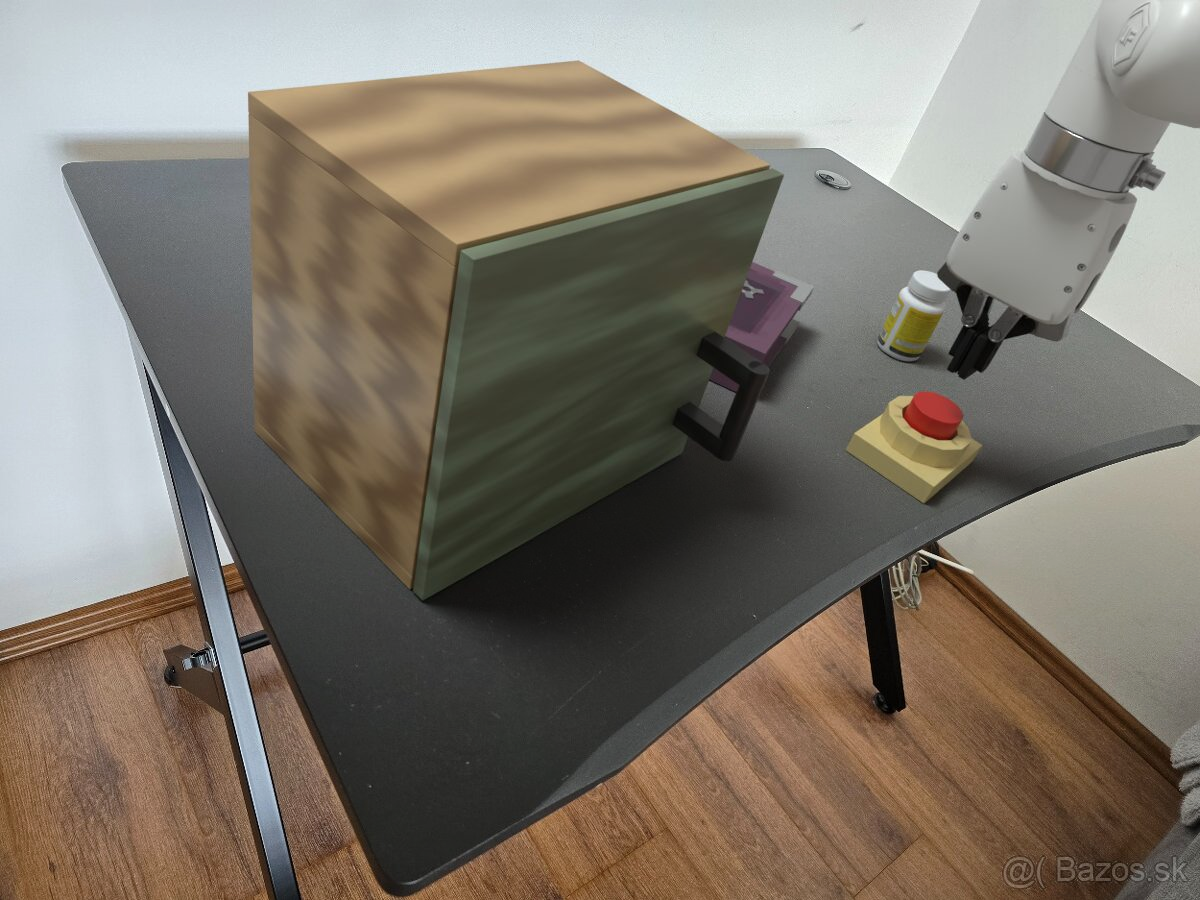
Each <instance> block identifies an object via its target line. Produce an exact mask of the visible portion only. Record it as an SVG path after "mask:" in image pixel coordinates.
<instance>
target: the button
mask: <svg viewBox="0 0 1200 900" xmlns="http://www.w3.org/2000/svg"><path fill="white" fill-rule="evenodd" d="M913 396H914V397H913V398H912V400H911V402H910V404H909V406H908V408H907V409H906V411H905V413H904V420H905V421H906V422H907V423H908V425H909V426H910V427H911V428H913V429H914V430H916V431H917V432H919V433H920V434H922V435H923V436H926V437H930V438H933V439H936V440H949V439H950V438H951V437H952V436H953V434H954V432H955V431H956V429H957V428H958V426H959V424H960V423H961V421H963V418H964V414H963V411H962V409H961V408H960V406H958V404H956V403H955V402H954V401H952V400H951V399H949V398H948V397H946V396H945V395H942V394H940V393H937V392H933V391H924V390H923V391H922V390H921V391H919V392H916V393H915V394H914V395H913Z"/></svg>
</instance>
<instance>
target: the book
mask: <svg viewBox="0 0 1200 900" xmlns="http://www.w3.org/2000/svg"><path fill="white" fill-rule="evenodd" d="M814 288H815V286H814V285H812V284H809V283H807V282H804V281H802V280H800V279H798V278H795V277H793V276H791V275H788V274H786V273H783V272H781V271H779V270H773V269H771V268H769V267H766V266H763V265H761V264H758V263H756V262H754V261H752V264H751V267H750V270H749V272H748V275H747V278H746V280H745V283H744V286H743V289H742V291H741V294H740V297H739V299H738V302H737V305H736V308H735V310H734V313H733V316H732V318H731V321H730V324H729V327H728V329H727V332H726V335H725V338H726V339H727V340H729V341H730V342H732V343H733V344H735V345H736V346H738V347H739V348H741V349H742V350H744V351H745V352H747V353H748V354H750V355H751V356H753V357H754V358H756V359H757V360H759V361H760V362H762V363H763V364H765V365H766V366H767V367H768V368H769V367H770V366H771V364H772V363H773V361H774V360H775V359H776V357H777V355H778V354H779V353H780V351H781V350H782V348H783V347H785V346H786V344H787V343H788V342H789V340H790V339H791V338H792V336H793V334H794V333H795V331H796V330H797V327H798V325H799V323H800V321H799V320H796V319H794V317H795V316H796V314H797V313H798V312H800V311H801V310H802V308H803V307H804V306H805V304H806V303H807V301H808V300H809V298H810V297H811V296H812V293H813V290H814ZM709 381H711V382H714V383H715V384H718V385H720V386H722V387H724V388H727V389H728V390H731V391H733V392H735V393H736V392H737V389H738V387H739V385H738V384H737V383H735V382H734V381H733V380H731V379H730V378H728V377H727V376H725V375H724V374H722V373H721V372H719V371H718V370H716V369H715V368H714V367H713V370H712V373H711V376H710V378H709Z"/></svg>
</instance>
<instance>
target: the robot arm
mask: <svg viewBox="0 0 1200 900" xmlns="http://www.w3.org/2000/svg"><path fill="white" fill-rule="evenodd" d="M1099 4H1100V5H1099V6H1098V8H1097V9H1096V11H1095V14H1094V15H1093V17H1092V19H1091V22H1090V23H1089V25H1088V27H1087V28H1086V31H1085V32H1084V35H1083V37H1082V39H1081V40H1080V43H1079V44H1078V46H1077V48H1076V50H1075V51H1074V54H1073V56H1072V58H1071V60H1070V61H1069V64H1068V66H1067V67H1066V69H1065V71H1064V73H1063V75H1062V77H1061V78H1060V80H1059V83H1058V84H1057V87H1056V88H1055V90H1054V92H1053V94H1052V96H1051V98H1050V100H1049V101H1048V103H1047V105H1046V107H1045V109H1044V112H1043V113H1042V115H1041V116H1040V119H1039V121H1038V123H1037V125H1036V126H1035V128H1034V131H1033V133H1032V134H1031V136H1030V137H1029V140H1028V142H1027V144H1026V146H1025V147H1023V148H1018V149H1017V150H1015V151H1013V152H1012V153H1011V155H1009V157H1008V158H1007V159H1006V161H1005V162H1004V163H1003V165H1002V166H1001V167H1000V169H999V170H998V171H997V173H996V174H995V176H994V177H993V178H992V180H991V181H990V182H989V184H988V186H986V188H985V190H984V191H983V193H982V195H981V196H980V198H979V199H978V200H977V202H976V204H975V206H974V207H973V209H972V210H971V212H970V213H969V215H968V217H967V218H966V220H965V222H964V223H963V224H962V227H961V228H960V229H959V232H957V233H958V234H957V235H956V237H955V239H954V240H953V243H952V245H951V246H950V249H949V251H948V253H947V256H946V261H945V262H944V263H943V264H942V266H941V267H940V268H938V271H937V272H936V274H937V276H938V278H939V279H940V280H941V281H942V282H943V283H944V284H945V285H946V286H947V287H948V288H950V289H951V291H952V292H954V293H955V295H956V299H957V301H958V305H959V307H960V308H959V309H960V311H961V314H962V315H961V318H960V321H961V324H962V327H961V329H960V331H959V332H958V334H957V336H956V338H955V340H954V341H953V343H952V346H951V347H950V349H949V350H948V355H949V356H951V357H952V359H951V360H950V363H949V364H948V365H947V368H946V370H947V371H948V372H950V373H952V374H953V373H955V374H957V377H958V378H960V379H962V380H966V379H968V378H969V377H971V376H973V374H975V373H977V372H978V373H980V374H982V373H984V372H985V371H986V370H987V368H988V367H989V366H990V364H991V363H992V361H993V359H994V358H995V356H996V355H997V352H998V351H999V349H1000V347H1001V346H1002V344H1003V342H1004V341H1005V340H1008V339H1012V338H1016V337H1021V336H1025V335H1032V336H1034V337H1036V338H1041V339H1044V340H1047V341H1052V342H1054V343H1055V342H1056V343H1057V342H1060V341H1062V340H1063V339H1064V338H1065V337H1066V336H1068V334H1069V331H1070V327H1071V325H1072V321H1073V318H1074V316H1075V314H1077V313H1078V312H1079V311H1080V310H1081V309H1082V308H1083V307H1084V305H1086V302H1087V301H1088V300H1089V298H1090V297H1091V295H1092V293H1093V291H1094V290H1095V288H1096V286H1097V284H1098V283H1099V281H1100V279H1101V277H1102V276H1103V274H1104V272H1105V270H1106V268H1107V267H1108V265H1109V263H1110V262H1111V260H1112V258H1113V255H1114V254H1115V252H1116V250H1117V248H1118V246H1119V245H1120V242H1121V240H1122V238H1123V236H1124V235H1125V232H1126V230H1127V227H1128V225H1129V223H1130V220H1131V218H1132V215H1133V214H1134V211H1135V207H1136V204H1137V201H1138V198H1137V197H1136V195H1134V194H1133V193H1132V192H1130V190H1131V189H1135V188H1137V187H1138V188H1140V189H1142V188H1146V189H1148V190H1149V191H1151V192H1153V191H1155V190H1156V189H1157V188H1158V186H1159V185H1160V184H1161V183H1162V181H1163V180H1164V178H1165V175H1166V173H1167V172H1166V171H1164V170H1162V169H1159V168H1157V165H1155V164H1153V162H1154V160H1153V159H1152V158H1153V156H1154V154H1155V152H1154V151H1155V149H1156V147H1157V146H1158V144H1159V142H1160V141H1161V139H1162V137H1163V136H1164V134H1165V132H1166V131H1167V129H1168V128H1169V126H1170V124H1171V123H1172V124H1175V125H1180V126H1183V127H1188V128H1192V129H1200V0H1102V1H1101V2H1100V3H1099ZM995 300H996V301H998V302H1000V303H1002V304H1004V305H1006V306H1007V307H1006V309H1005V310H1004V311H1003V312H1002V314H1001V315H1000V316H999V318H998V319H997V320H996V321H995V322H994V323H993V324H992V325H991V326H990V323H991V322H989V321H990V317H989V316H990V315H991V312H992V309H993V305H994V303H995Z"/></svg>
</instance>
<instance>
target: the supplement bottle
mask: <svg viewBox="0 0 1200 900" xmlns="http://www.w3.org/2000/svg"><path fill="white" fill-rule="evenodd" d="M951 291H952V290H951V289H950V288H948V287H947V286H946V285H945V284H944V283H943V282H942V281H941V280H940V279H939V278H938V276H937V273H935V272H932V271H929V270H924V269H923V270H921V269H920V270H916V271H914V272H913V274H912V275H911V277H910V279H909V281H908V283H907V286H906V287H903V288H902V289H901V290H900V292H899V293H898V295H897V297H896V299H895V302H894V304H893V305H892V308H891V310H890V312H889V314H888V316H887V318H886V320H885V321H884V324H883V326H882V328H881V330H880V332H879V335H878V336H877V338H876V339H877V340H876V343H877V346H878V347H879V349H880V350H881V351H882V352H884V353H885V354H886V355H888V356H889V357H891V358H893V359H896V360H898V361H902V362H915V361H917V360H919V359H920V358H921V357H922V354H923V353H924V351H925V348H926V346H927V345H928V343H929V341H930V340H931V338H932V335H933V333H934V332H935V329H936V328H937V326H938V324H939V322H940V320H941V318H942V316H943V314H944V312H945V310H946V303H945V301H947V299H948V298H949V295H950V293H951Z"/></svg>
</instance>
